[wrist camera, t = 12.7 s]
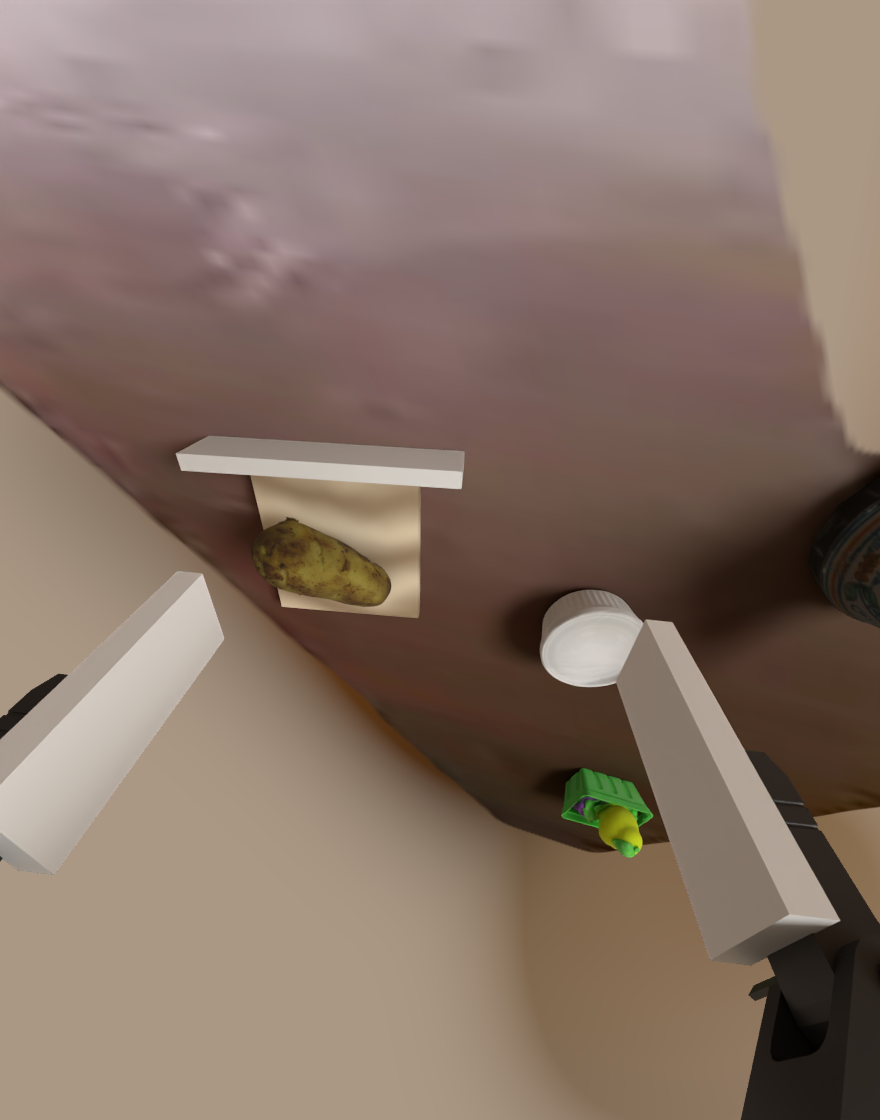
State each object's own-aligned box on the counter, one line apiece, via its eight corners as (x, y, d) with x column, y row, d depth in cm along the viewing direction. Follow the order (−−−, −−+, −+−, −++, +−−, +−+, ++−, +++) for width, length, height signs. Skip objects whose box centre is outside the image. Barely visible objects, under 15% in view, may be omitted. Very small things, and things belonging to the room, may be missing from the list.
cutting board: (255, 461, 39) (248, 467, 38) (420, 472, 38) (418, 478, 37) (287, 598, 48) (281, 606, 47) (419, 609, 48) (418, 618, 46)
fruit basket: (554, 784, 66) (566, 865, 57) (582, 756, 61) (600, 841, 52) (616, 801, 67) (638, 884, 58) (649, 776, 62) (678, 862, 53)
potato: (345, 605, 46) (322, 658, 40) (264, 518, 41) (222, 562, 34) (404, 577, 43) (390, 629, 37) (326, 479, 38) (293, 519, 31)
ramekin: (567, 665, 51) (575, 701, 46) (515, 611, 47) (518, 644, 42) (654, 627, 46) (672, 662, 42) (605, 562, 42) (620, 594, 38)
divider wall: (209, 435, 38) (175, 453, 34) (464, 451, 37) (462, 471, 33) (213, 451, 39) (181, 470, 35) (463, 467, 37) (461, 489, 33)
